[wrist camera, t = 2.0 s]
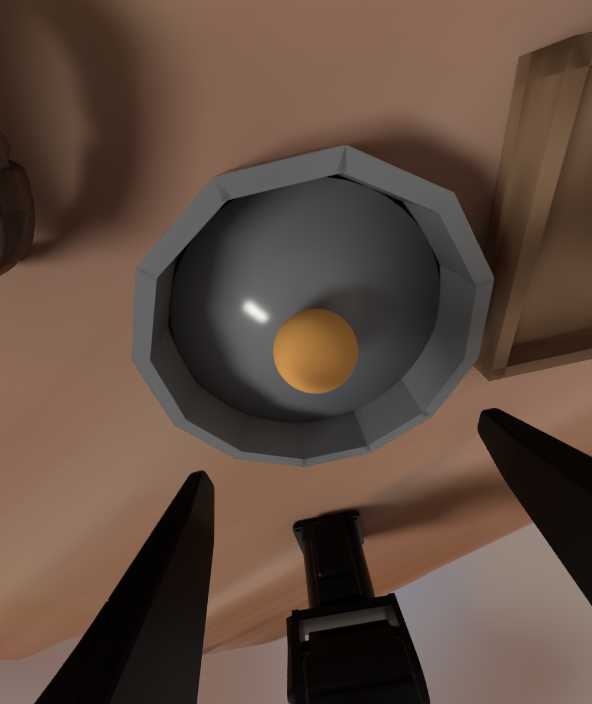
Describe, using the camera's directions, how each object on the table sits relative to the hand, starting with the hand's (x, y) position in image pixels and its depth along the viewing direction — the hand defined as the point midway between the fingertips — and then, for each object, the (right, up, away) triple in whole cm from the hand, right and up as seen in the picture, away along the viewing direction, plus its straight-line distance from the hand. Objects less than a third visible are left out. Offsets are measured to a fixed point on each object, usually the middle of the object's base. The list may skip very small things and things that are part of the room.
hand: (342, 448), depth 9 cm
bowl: (-1, +5, +7) cm, 8 cm away
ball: (-1, +4, +6) cm, 8 cm away
